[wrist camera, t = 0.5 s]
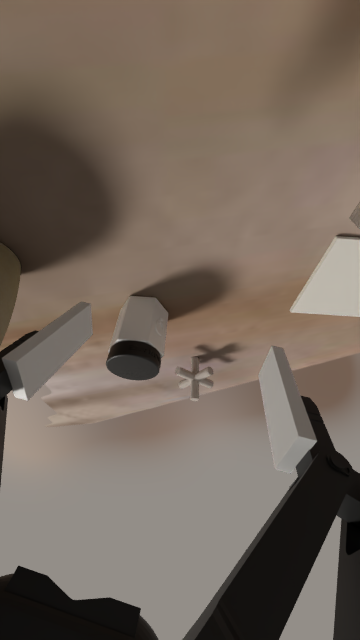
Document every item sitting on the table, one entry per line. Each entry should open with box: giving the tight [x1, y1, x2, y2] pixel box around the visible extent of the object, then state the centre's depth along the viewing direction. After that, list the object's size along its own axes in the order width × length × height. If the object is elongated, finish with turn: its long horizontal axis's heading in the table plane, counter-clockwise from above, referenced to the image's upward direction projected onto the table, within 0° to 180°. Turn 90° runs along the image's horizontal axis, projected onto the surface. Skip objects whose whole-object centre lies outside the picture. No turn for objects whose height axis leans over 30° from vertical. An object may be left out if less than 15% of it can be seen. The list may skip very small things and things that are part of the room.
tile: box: [290, 236, 360, 317], centre depth 34 cm, size 14×14×1 cm
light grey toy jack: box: [175, 357, 213, 401], centre depth 51 cm, size 10×10×10 cm
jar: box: [106, 296, 168, 380], centre depth 38 cm, size 9×8×12 cm
